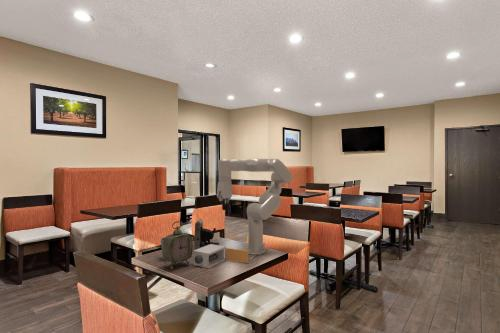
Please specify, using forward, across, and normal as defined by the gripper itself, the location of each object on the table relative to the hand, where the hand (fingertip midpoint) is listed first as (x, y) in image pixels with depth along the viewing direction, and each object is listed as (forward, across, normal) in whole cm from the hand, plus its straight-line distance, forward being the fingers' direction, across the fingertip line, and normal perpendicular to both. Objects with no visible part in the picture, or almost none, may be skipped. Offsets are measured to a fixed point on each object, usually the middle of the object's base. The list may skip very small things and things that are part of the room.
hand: (225, 209), depth 178 cm
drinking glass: (+29, +17, -29) cm, 45 cm away
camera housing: (+29, +11, -3) cm, 31 cm away
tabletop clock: (+29, +25, -15) cm, 41 cm away
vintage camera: (+29, -8, -20) cm, 36 cm away
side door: (+29, +2, +10) cm, 30 cm away
